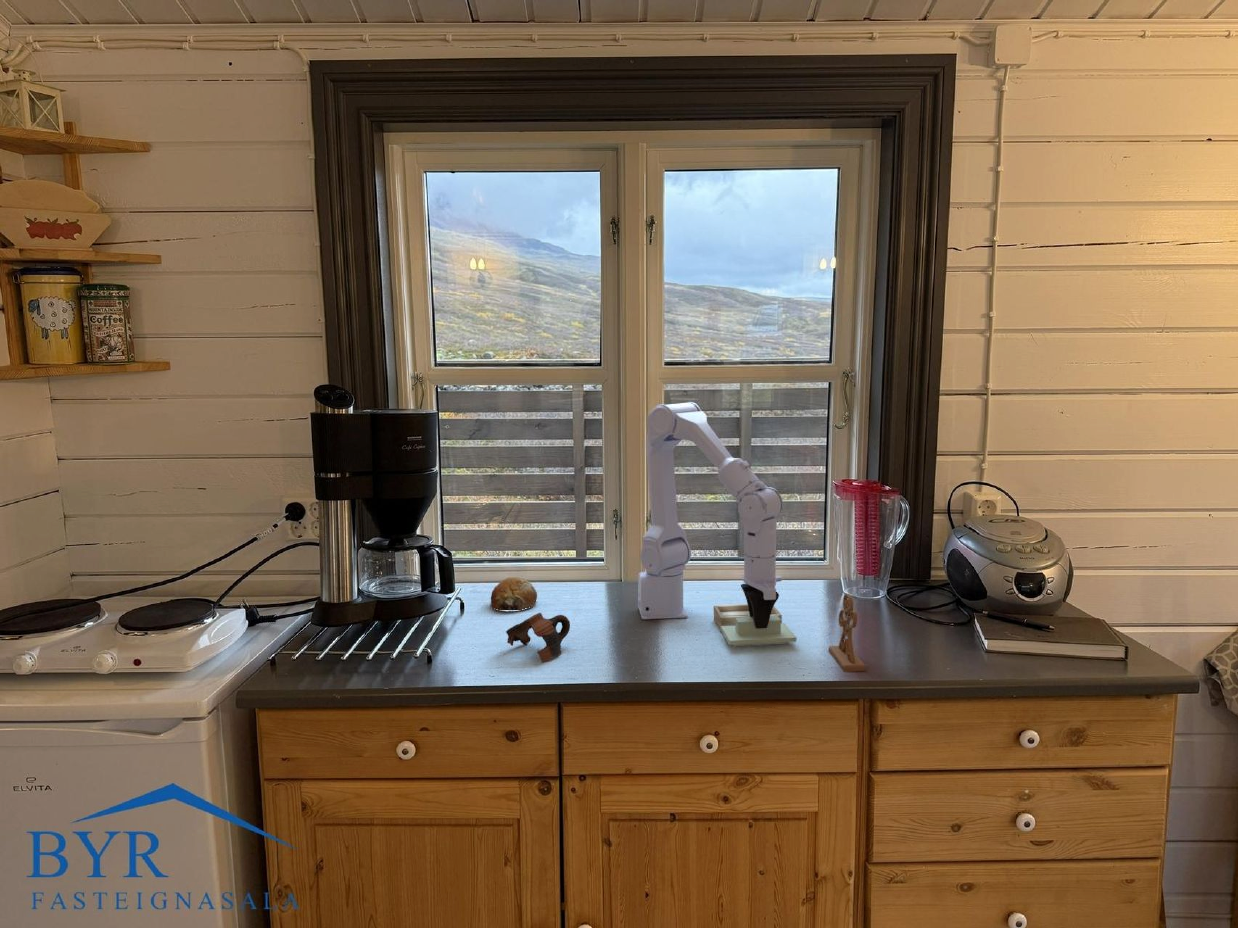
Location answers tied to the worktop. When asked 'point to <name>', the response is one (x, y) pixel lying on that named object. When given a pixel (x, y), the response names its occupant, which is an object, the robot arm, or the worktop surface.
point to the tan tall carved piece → (847, 640)
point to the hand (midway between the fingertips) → (759, 624)
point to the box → (734, 614)
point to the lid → (757, 632)
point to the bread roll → (513, 594)
